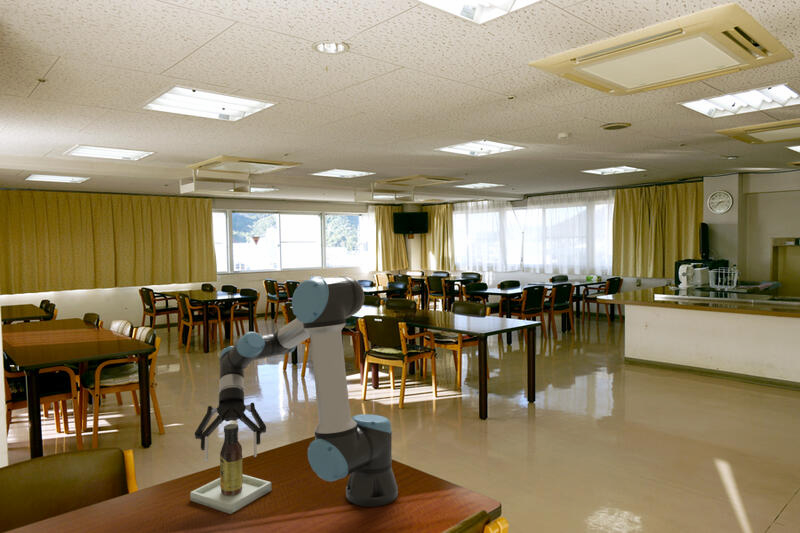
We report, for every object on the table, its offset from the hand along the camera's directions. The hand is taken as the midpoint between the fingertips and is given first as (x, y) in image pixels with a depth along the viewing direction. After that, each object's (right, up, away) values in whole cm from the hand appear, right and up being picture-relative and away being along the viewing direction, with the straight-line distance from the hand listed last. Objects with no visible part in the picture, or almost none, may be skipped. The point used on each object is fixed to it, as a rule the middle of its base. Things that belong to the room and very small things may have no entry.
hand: (230, 457), depth 153 cm
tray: (-1, -12, +3) cm, 12 cm away
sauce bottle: (-1, -11, +3) cm, 12 cm away
